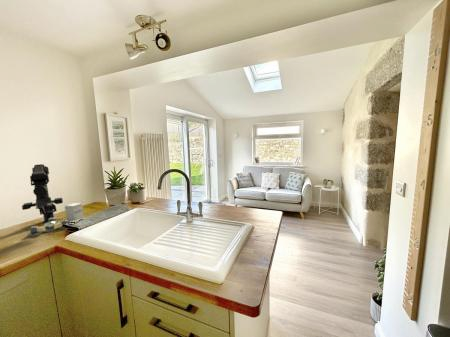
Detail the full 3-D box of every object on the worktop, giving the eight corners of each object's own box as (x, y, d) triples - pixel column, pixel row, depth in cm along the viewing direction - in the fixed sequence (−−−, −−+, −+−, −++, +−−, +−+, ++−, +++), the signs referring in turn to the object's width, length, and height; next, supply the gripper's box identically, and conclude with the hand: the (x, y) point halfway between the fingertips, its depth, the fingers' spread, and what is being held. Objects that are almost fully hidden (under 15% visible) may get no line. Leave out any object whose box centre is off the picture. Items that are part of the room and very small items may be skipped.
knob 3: (65, 223, 135) (65, 219, 134) (70, 224, 134) (69, 219, 133) (52, 228, 127) (51, 223, 127) (56, 229, 126) (56, 224, 126)
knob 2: (48, 224, 135) (47, 219, 135) (49, 222, 139) (48, 218, 138) (63, 221, 140) (62, 216, 140) (63, 219, 143) (62, 215, 143)
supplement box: (75, 223, 140) (72, 206, 138) (66, 222, 141) (64, 205, 140) (84, 219, 147) (82, 202, 145) (76, 218, 148) (73, 202, 147)
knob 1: (28, 233, 122) (27, 228, 121) (34, 230, 126) (33, 225, 125) (41, 232, 122) (41, 227, 122) (47, 229, 126) (46, 225, 125)
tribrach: (32, 228, 134) (31, 221, 134) (72, 219, 147) (71, 213, 146) (26, 238, 119) (25, 230, 118) (71, 227, 132) (70, 221, 131)
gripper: (18, 198, 112) (23, 224, 114) (60, 192, 123) (64, 215, 126) (21, 194, 121) (26, 218, 123) (60, 189, 132) (64, 211, 134)
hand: (45, 216), depth 126 cm, fingers closed
